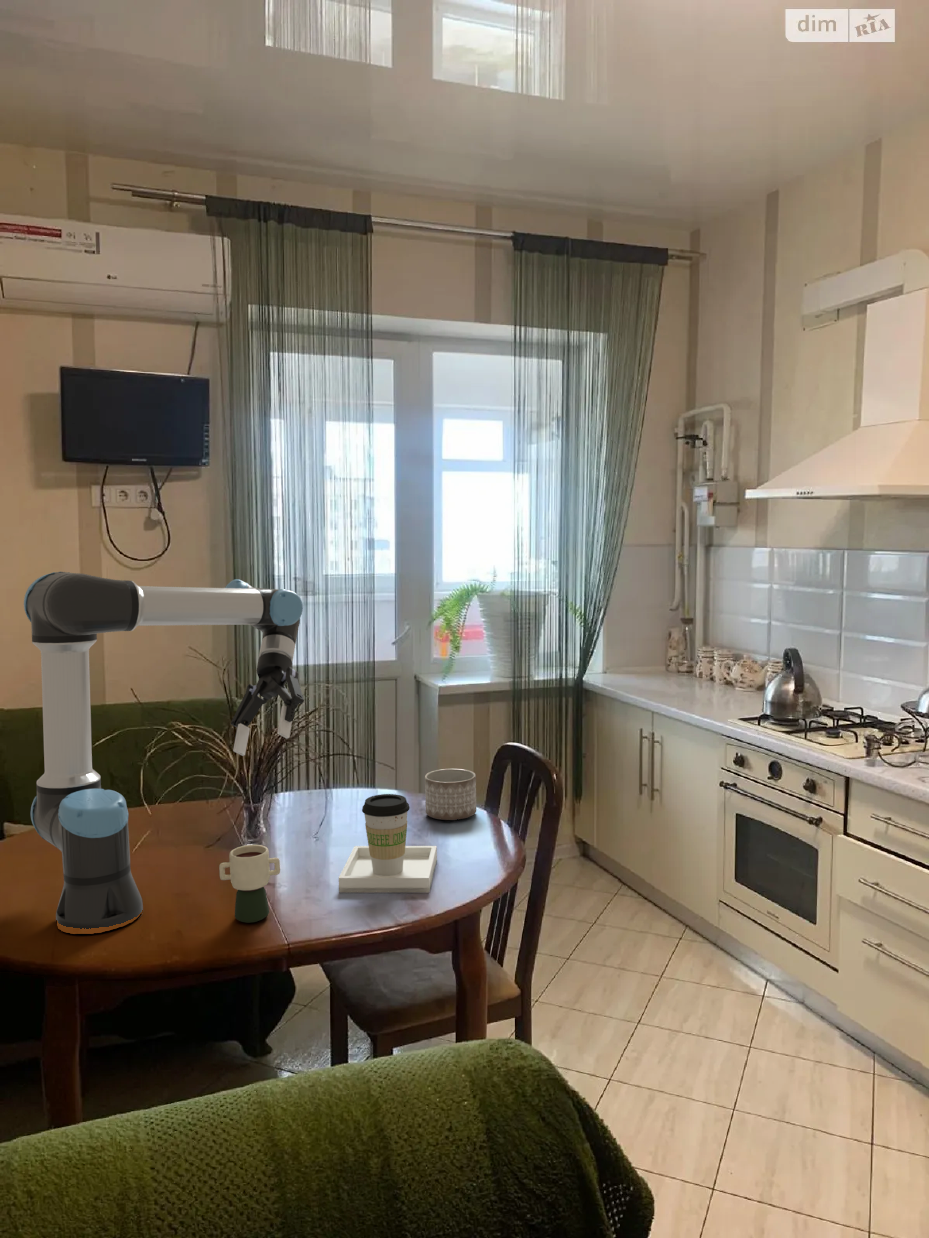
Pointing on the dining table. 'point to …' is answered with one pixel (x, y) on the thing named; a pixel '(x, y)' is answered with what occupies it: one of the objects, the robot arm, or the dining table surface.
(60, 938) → the dining table surface
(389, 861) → the coffee cup
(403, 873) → the tray
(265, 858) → the character mug
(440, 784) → the planter
